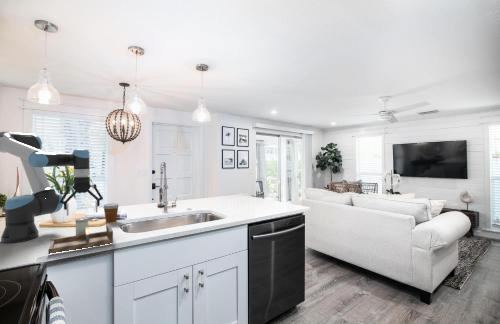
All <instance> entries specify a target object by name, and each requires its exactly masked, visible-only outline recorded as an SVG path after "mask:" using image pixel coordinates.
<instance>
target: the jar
mask: <svg viewBox="0 0 500 324" xmlns="http://www.w3.org/2000/svg"><path fill="white" fill-rule="evenodd" d="M89 220H90V218H89V217H79V218H76V219H74V222H75V236H76V235H83V234H85V228H88V229H89Z"/></svg>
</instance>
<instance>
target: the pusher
mask: <svg viewBox="0 0 500 324" xmlns="http://www.w3.org/2000/svg"><path fill="white" fill-rule="evenodd" d="M89 234H90V233H89V227H88V228H85V238H86V242H89Z"/></svg>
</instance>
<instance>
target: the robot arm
mask: <svg viewBox="0 0 500 324" xmlns="http://www.w3.org/2000/svg"><path fill="white" fill-rule="evenodd" d="M42 145H43V141H42V139H41V138H40V136H38V135H36V134H35V133H30V132H15V131H0V153H4V154H5V153H6V154H7V153H8V154H10V155H12V156H15V157H17V158H20V161H21V164H22V166H23V170H24V172H25V175H26V178H27V181H28V183H29V185H30V188H31V191H32V193H31V194H21V195H16V196H12V197H10V198H7V199H6V200H5V204H4V214H5V215H4V218H5V219H4V222H5V223H4V224H5V226H4V230H3V232H2V234H1V236H0V242H1V243H3V244H11V243H13V244H14V243H20V242H26V241H29V240H33V239H36V238H38V237H39V234H40V233H39V229H38V228H37V226H36V224H35V217H40V216H45V215H49V214H51V215H52V214H53V213H57V212H59V211H61V209H62V208H63V210H65V211H66V216H68V217H69V214H70V213H69V202H70V200H71V199H72V198H73V197H74V196H75V195H76V194H85V193H88V194H89V195H90V196H92V198H93V199H95V213H98V207H100V205H101V203H100V202H101V201H102V200H104V197H103V195H102V194H101V193H100V191H99V190H98V187H97V184H96V183H94V184H91V182H90V181H91V178H90V175H91V174H90V172H91V171H90V167H91V166H90V158H91V156H90V151H89V149H80V148H79V149H77V148H76V149H74V150H73V151H72V152H46V151H43V150H42V148H43V146H42ZM50 167H51V168H52V167H73V185H67V186H66V190H65V192H64V194H63V195H62V194H61V193H59V192H56V189H55V188H52V187H51V185H50V183H49V179H48V177H47V174H46V173H45V169H44V168H50ZM91 188H92V189H94V190H95V192H96V194H97V195H98V196H97V195H96V194H95V193H93V191H92V190H90V189H91ZM72 189H73V190H74V191H73V192H72V193H71V194H70V195H68V193H69V192H70V191H71V190H72ZM67 195H68V197H67ZM66 197H67V198H66ZM45 198H46V199H45ZM65 199H66V200H65Z"/></svg>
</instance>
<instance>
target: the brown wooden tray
mask: <svg viewBox="0 0 500 324" xmlns="http://www.w3.org/2000/svg"><path fill="white" fill-rule="evenodd" d="M105 226H106V227H105V229H106V230H104V231H98V232H92V233H91V232H90V233H89V242H86V238H85V234H83V235H76V234H75V235H70V236H63V237H58V238H57V237H56V238H51V241H50V245H49V248H48V249H47V250H48V253H47V255H48V254H50V253H56V252H62V251H69V250H76V249H82V248H88V247H93V246H100V245H105V244H110V243H113V244H114V231H113V229H112V226H111V223H106V225H105Z"/></svg>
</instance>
